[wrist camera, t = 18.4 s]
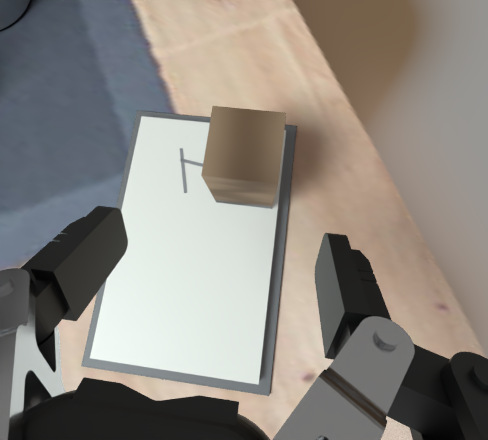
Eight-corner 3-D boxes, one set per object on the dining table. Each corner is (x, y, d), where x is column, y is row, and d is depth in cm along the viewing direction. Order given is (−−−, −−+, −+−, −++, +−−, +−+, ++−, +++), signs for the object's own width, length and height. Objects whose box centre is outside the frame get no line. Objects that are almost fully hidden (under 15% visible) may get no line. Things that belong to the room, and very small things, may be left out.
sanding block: (216, 202, 25) (201, 175, 18) (224, 150, 26) (212, 105, 19) (271, 208, 24) (278, 184, 18) (277, 156, 25) (286, 112, 18)
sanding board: (82, 365, 24) (75, 369, 23) (137, 111, 28) (133, 105, 27) (269, 394, 23) (269, 400, 22) (296, 127, 27) (297, 121, 26)
